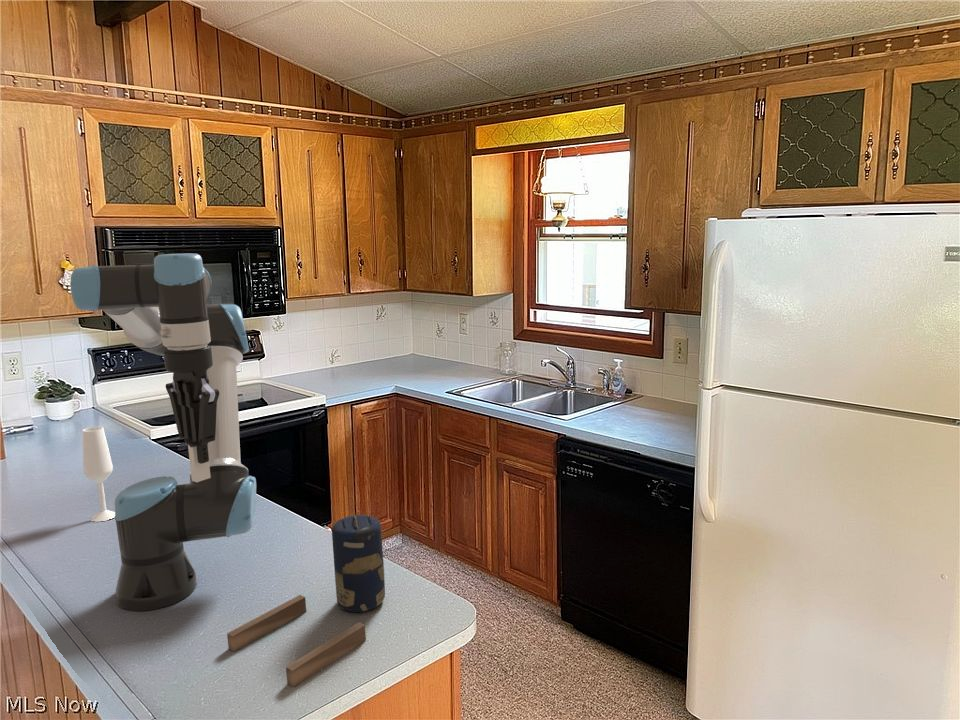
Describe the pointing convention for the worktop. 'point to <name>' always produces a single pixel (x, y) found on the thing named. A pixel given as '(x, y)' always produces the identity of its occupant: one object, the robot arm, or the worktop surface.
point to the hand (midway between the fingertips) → (201, 479)
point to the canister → (358, 563)
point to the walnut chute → (311, 660)
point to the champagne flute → (97, 465)
